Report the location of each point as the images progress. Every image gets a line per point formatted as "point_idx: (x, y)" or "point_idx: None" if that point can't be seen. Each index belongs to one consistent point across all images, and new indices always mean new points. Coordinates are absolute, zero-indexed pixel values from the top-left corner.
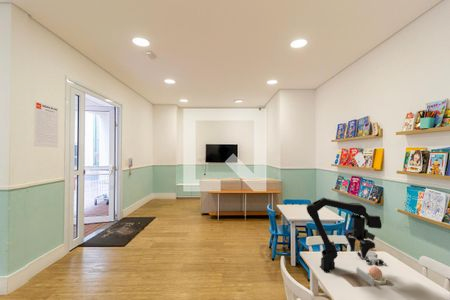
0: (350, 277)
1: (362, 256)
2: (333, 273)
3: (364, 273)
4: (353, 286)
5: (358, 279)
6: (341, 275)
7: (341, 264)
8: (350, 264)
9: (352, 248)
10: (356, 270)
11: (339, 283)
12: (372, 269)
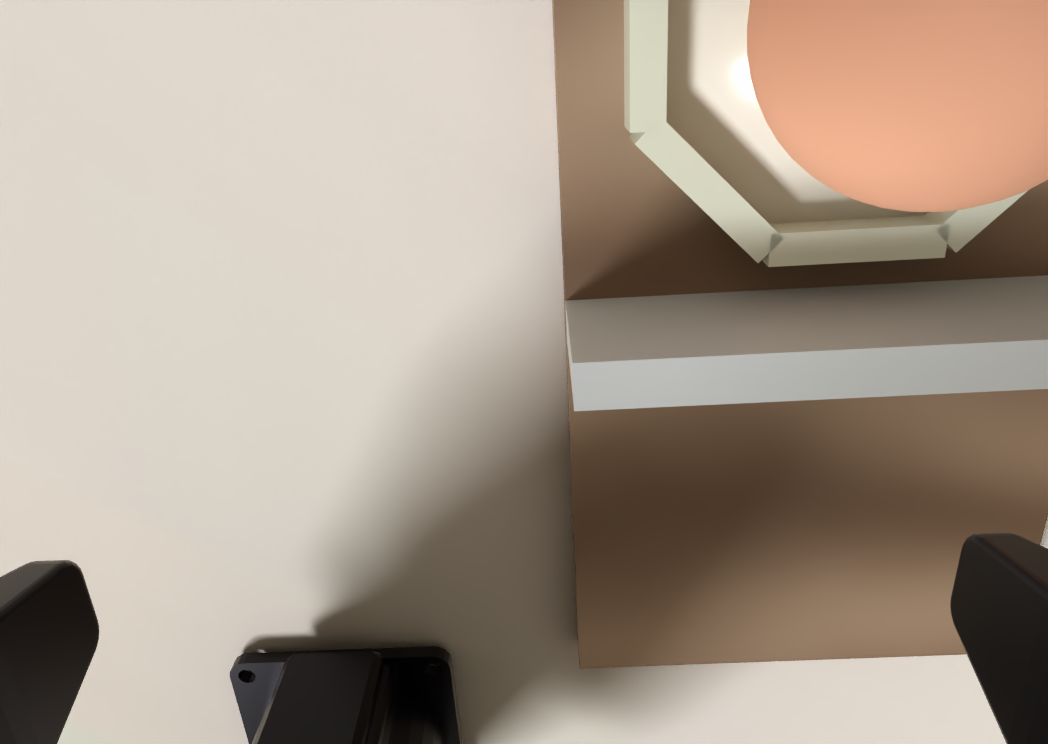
0: (720, 550)
1: (1010, 688)
2: (491, 691)
3: (910, 389)
4: None
5: (815, 445)
6: (631, 658)
7: (79, 387)
8: (23, 163)
9: (37, 727)
10: (570, 370)
11: (804, 738)
12: (1025, 170)
